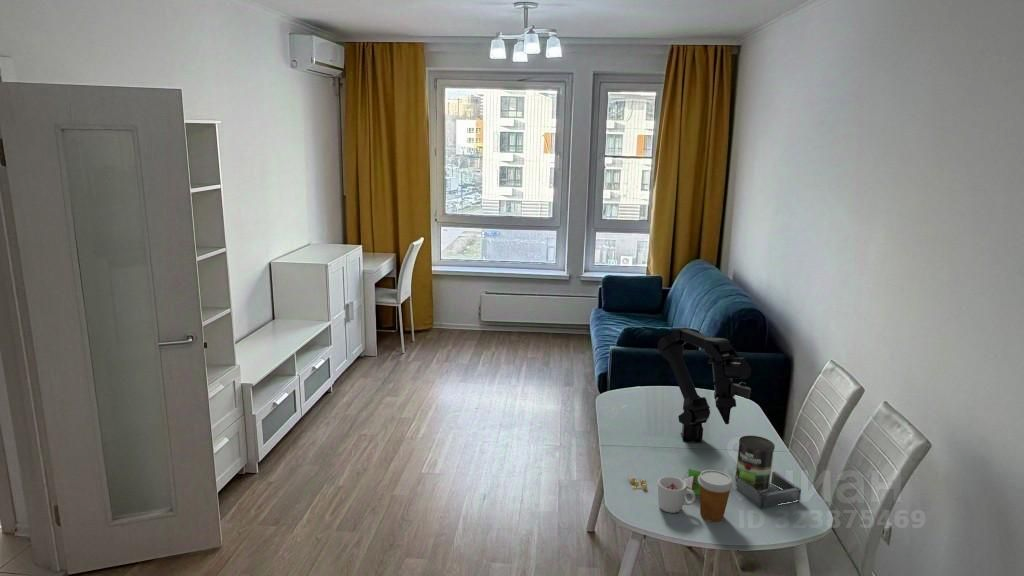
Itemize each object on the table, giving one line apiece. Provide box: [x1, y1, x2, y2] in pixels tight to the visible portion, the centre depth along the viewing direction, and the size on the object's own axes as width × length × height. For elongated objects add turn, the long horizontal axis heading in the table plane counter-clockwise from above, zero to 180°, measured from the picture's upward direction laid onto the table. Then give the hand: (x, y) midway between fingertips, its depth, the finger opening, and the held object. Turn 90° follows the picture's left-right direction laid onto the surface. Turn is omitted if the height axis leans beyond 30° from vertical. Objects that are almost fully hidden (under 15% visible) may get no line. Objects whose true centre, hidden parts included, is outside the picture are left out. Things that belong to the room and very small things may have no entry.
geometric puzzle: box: [681, 468, 702, 496], centre depth 202 cm, size 7×7×8 cm
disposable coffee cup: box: [698, 469, 734, 523], centre depth 188 cm, size 10×10×12 cm
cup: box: [657, 476, 697, 514], centre depth 191 cm, size 11×8×8 cm
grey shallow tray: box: [735, 471, 802, 510], centre depth 200 cm, size 11×14×4 cm
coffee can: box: [734, 435, 776, 493], centre depth 206 cm, size 10×10×14 cm
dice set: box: [630, 476, 648, 491], centre depth 205 cm, size 5×5×2 cm
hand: (727, 424), depth 221 cm, fingers closed
